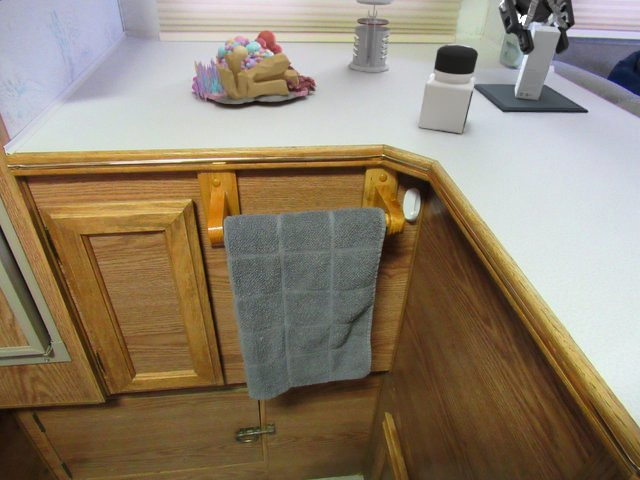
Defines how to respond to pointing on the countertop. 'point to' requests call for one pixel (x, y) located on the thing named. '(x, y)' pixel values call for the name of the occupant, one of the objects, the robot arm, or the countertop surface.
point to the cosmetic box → (537, 62)
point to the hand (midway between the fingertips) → (545, 51)
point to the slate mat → (508, 102)
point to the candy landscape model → (250, 73)
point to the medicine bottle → (449, 89)
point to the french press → (371, 41)
